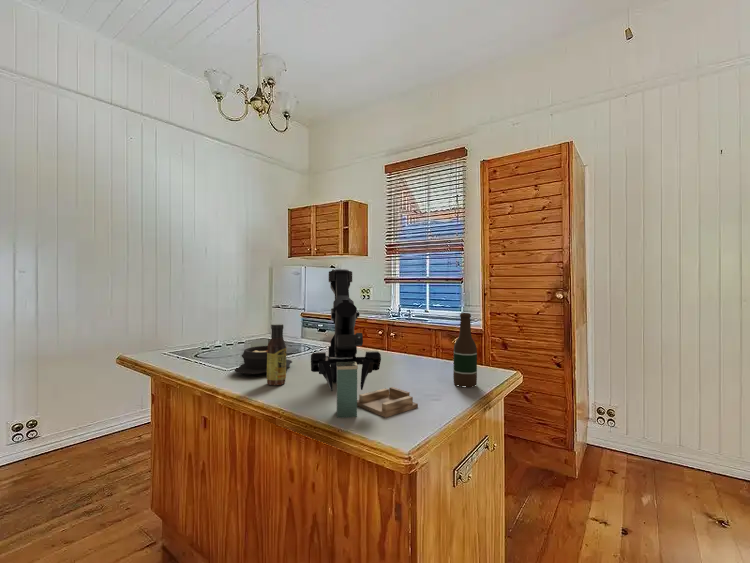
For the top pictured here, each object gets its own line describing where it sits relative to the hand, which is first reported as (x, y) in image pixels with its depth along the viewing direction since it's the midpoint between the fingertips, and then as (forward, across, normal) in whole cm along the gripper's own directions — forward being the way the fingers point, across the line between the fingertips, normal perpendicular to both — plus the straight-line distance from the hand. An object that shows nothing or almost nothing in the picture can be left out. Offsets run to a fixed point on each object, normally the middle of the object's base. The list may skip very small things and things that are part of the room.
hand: (346, 389), depth 98 cm
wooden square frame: (0, +11, +9) cm, 14 cm away
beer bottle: (-12, +41, +22) cm, 48 cm away
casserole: (-32, -28, +42) cm, 60 cm away
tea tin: (+4, 0, +6) cm, 7 cm away
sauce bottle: (-18, -22, +28) cm, 40 cm away
